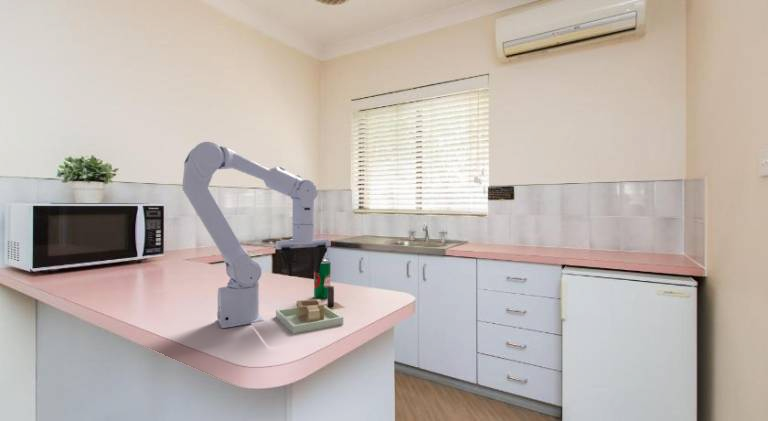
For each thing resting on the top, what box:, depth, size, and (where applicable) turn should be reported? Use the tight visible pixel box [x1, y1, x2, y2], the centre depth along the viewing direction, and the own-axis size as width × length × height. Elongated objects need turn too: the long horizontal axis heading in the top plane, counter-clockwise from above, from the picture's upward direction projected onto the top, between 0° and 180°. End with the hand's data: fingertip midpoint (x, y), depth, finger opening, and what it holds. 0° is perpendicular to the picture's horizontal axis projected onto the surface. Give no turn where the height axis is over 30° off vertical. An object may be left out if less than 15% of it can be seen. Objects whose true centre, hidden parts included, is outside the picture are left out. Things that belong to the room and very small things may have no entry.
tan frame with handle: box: [296, 298, 325, 323], centre depth 89 cm, size 10×6×4 cm, turn 20°
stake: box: [323, 285, 346, 311], centre depth 100 cm, size 6×6×6 cm
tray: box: [275, 306, 344, 335], centre depth 88 cm, size 12×14×2 cm
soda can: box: [313, 257, 332, 300], centre depth 111 cm, size 5×5×12 cm
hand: (303, 273), depth 98 cm, fingers open, 7 cm apart
